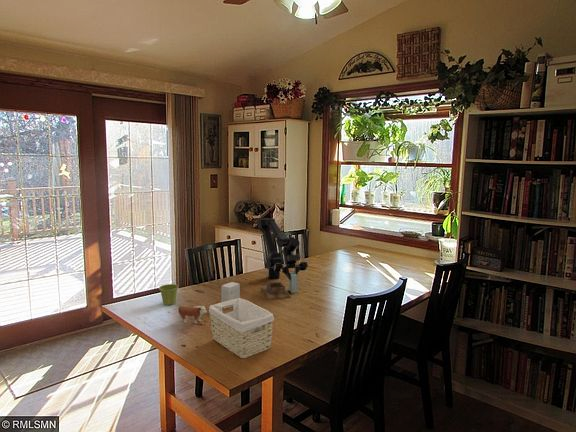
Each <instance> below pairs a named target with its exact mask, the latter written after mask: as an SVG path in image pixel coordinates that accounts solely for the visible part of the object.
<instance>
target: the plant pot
mask: <svg viewBox="0 0 576 432" xmlns="http://www.w3.org/2000/svg"><path fill="white" fill-rule="evenodd" d="M178 288H179V285H177V284H176V283H175V284H173V283H171V284H170V283H169V284H163V285H161V286H159V288H158V289H159V291H160V295H161V300H162V304H163V306H172V305H175V304H176V301H177V294H178V293H177V292H178Z"/></svg>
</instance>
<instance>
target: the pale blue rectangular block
mask: <svg viewBox="0 0 576 432" xmlns="http://www.w3.org/2000/svg"><path fill="white" fill-rule="evenodd" d="M289 273H290V277H291V281H290V280H289V284H288V285H289V287H288V289H289V291H290V293H291V294H292V293H293V294H297V293H298V275H297V274H296V273H294V272H289Z"/></svg>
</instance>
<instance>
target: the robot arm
mask: <svg viewBox="0 0 576 432" xmlns="http://www.w3.org/2000/svg"><path fill="white" fill-rule="evenodd" d="M256 226H257V228H258V230H259V231H260V232H261V233H262V235H263V239H264V241H265V245H266V249H267V252H268V256H267V262H266V263H265V269H268V272H267V274H268V275H267V277H268V280H273V279H274V280H275V279H276V280H278V279H280V278H281V277H280V274H281V273H282V274H284V275H285V276H286V277H287V279H288V280H289V282H290V281H291V277H290V273H291V272H290V269H294V271H293V273H296V274H297V276H298V275H299V272H300V271H306V270H307V268H308V267H309V264H308V263H309V262H307V261H300V262H299V264H298V263H297V261H298V260H300V259H301V255H300V252H299V253H295V254H294V252H295V251H296V250H297V249H298V247H299V246H300V244H301V243H300V240H298V239H297V238H295V237H294V236H291V237H289V236H288V234H285V233H284V232H283V231H282V230H281V228H280V227H279V225H278V224H277V222H276V219H275V218H269V217H266V218H259V219H258V220H257V221H256ZM272 234H273V235H274V237H275V242H276V245H277V246H278V248H282V251H281V252H277V249H276V246H275V242H274V239H273V235H272ZM282 254H283V258H282ZM283 261H284V264H283ZM280 272H281V273H280Z"/></svg>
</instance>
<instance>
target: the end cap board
mask: <svg viewBox="0 0 576 432" xmlns="http://www.w3.org/2000/svg"><path fill="white" fill-rule="evenodd" d="M261 289H262V291H263V293H264V295H265V296H266V298H267V300H274V299H275V300H276V299H288V298H289V299H290V298H291V294H289V292H288V291H287V289H286V287H285V285H283V283H282V282H281V281H276V282H275V281H274V282H266V286H261Z"/></svg>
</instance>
